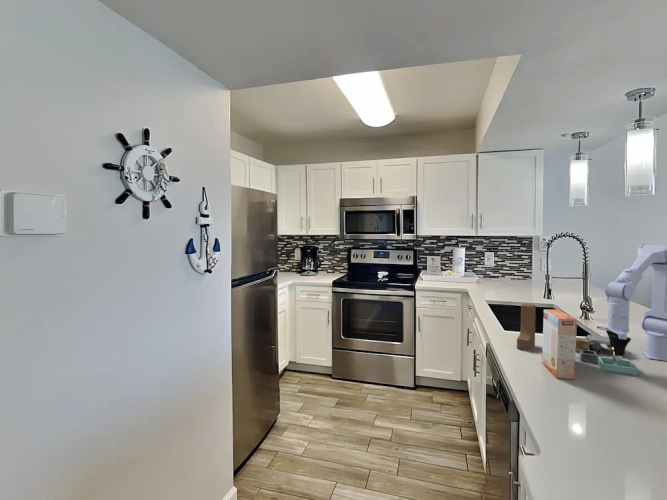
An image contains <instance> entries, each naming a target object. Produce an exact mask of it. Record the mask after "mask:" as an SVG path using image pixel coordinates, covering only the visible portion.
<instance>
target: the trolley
mask: <svg viewBox="0 0 667 500" xmlns="http://www.w3.org/2000/svg"><path fill="white" fill-rule="evenodd" d="M584 339H588V341H589V350H590V351H596V353H597V355H598V354H601V353H602V352H603V350H604V349H603V346H602V345H606V346H607V348H608V349H609V351H610V353H611V354H612V355H613V351H612V350H611V345H610V340H609V336H604V335H603V336H601V335H593V334H587V336H586V337H585V338H584ZM625 353H626V350H625V351H624V354H623V356H624V355H625Z"/></svg>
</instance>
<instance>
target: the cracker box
mask: <svg viewBox="0 0 667 500" xmlns="http://www.w3.org/2000/svg"><path fill="white" fill-rule="evenodd" d="M577 322H578V321H577V319H576V318H574V317H572V316H571V315H569V314H567V313H565V312H564V311H563V310H560V309H543V322H542V323H543V324H542V325H543V326H542V327H543V328H542V329H543V330H542V354H541V356H542V359H541V360H542V361H541V363H542V364H543V365H544V366H545V367H546V368H547V369H548V371H550V373H551V374H552V376H554V377H555V378H556V379H567V380H575V378H576V377H575V373H576V370H575V369H576V352H575V350H576V338H577V331H576V325H578V324H577Z"/></svg>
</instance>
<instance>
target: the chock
mask: <svg viewBox="0 0 667 500" xmlns="http://www.w3.org/2000/svg"><path fill="white" fill-rule="evenodd" d="M580 349H582V350H589V341H588V339H585V338H584V337H576V352H575V353H577V354H580Z"/></svg>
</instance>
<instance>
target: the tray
mask: <svg viewBox="0 0 667 500" xmlns="http://www.w3.org/2000/svg"><path fill="white" fill-rule="evenodd" d="M612 364H613V357H605V356H598V363H597V365H598V367H599V369H600V371H601V372H606V373H612V374H620V375H627V376H628V375H629V376H634V377H638V376H639V368H638V367H637V366H636V365H635V363H634V362H633V361H632V360H628V359H627V360H626V359H622V360H621V366H617V365H612Z"/></svg>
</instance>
